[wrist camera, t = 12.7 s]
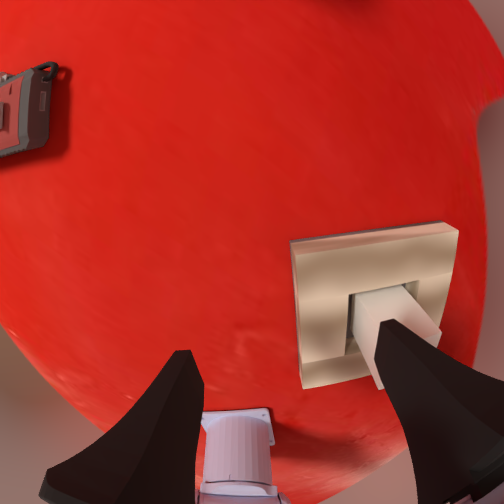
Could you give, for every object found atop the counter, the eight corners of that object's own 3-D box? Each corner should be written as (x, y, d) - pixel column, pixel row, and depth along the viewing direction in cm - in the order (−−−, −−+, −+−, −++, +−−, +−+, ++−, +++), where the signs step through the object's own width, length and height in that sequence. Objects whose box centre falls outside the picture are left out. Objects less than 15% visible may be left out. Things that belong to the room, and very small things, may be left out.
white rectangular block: (391, 319, 22) (426, 373, 15) (350, 328, 22) (378, 389, 15) (396, 279, 20) (442, 332, 14) (352, 288, 20) (389, 349, 14)
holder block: (418, 341, 24) (429, 356, 21) (298, 369, 24) (303, 389, 22) (440, 220, 19) (458, 230, 16) (289, 240, 19) (295, 255, 17)
